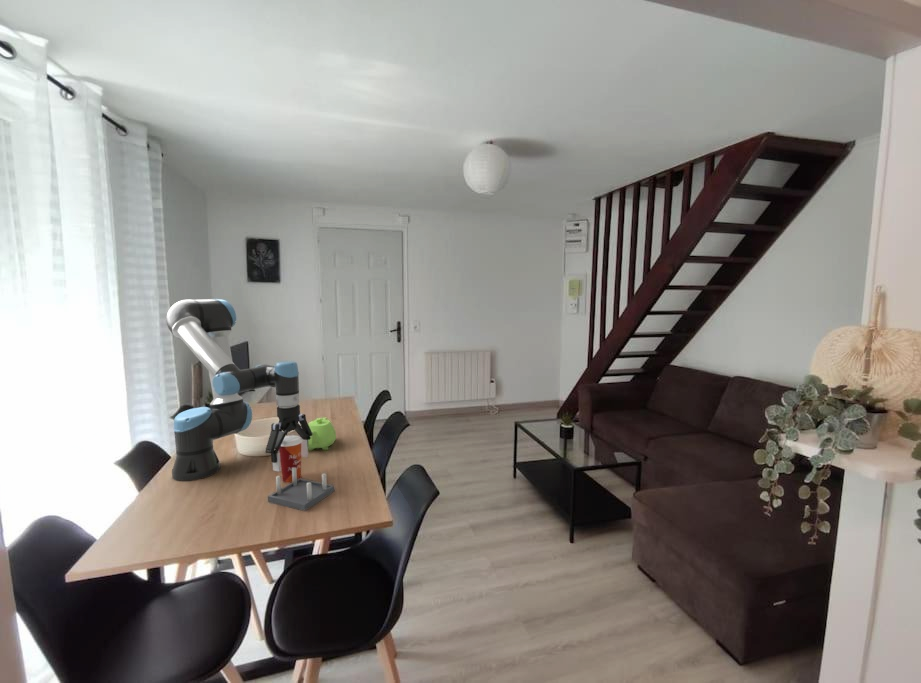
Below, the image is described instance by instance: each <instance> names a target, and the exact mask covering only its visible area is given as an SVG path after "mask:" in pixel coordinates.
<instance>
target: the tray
mask: <svg viewBox="0 0 921 683" xmlns="http://www.w3.org/2000/svg"><path fill="white" fill-rule="evenodd" d="M281 476H282V475H276V476H275V486H276V487H275V488H276V489H275V490H276V491H274V492H272V493H270V494H269V495H267V503H270V504H275V505H279V506H282V507H287V508H291V509H295V510H300V511H303V512H306V511H307V510H309V509H310V508H311V507H313V506H314V505H316V504H318V503H319V502H321V501H322V500H324V499H325V498H327V497H328V496H329V495H331V494H333V493H334V492H336V491H335V487H336V486H335V485H334V484H329V483H328V482H327V473H322V474H321V482H320V481H316V480H310V479H306V478H302V477H300V478H299V479H297V471H296V467H294V468H292V480H293V482H289V483H288V484H286V485H285V486H283V487H282V480H281Z"/></svg>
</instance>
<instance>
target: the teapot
mask: <svg viewBox="0 0 921 683" xmlns="http://www.w3.org/2000/svg"><path fill="white" fill-rule="evenodd" d="M308 425H309V427H310V430H311V432H312V436H310V437H311V438H310V440H308V452H309V451H314V450H315V449H322V451H327V450H329V447H330V446H331V445H333V444H334V442H335V441H336V439H337V433H336V429H335V427H334V425H333V423H332V422H331V420H329V419H328V417H327V416H326V417H317V418H315V420H311V421H310V422H308Z"/></svg>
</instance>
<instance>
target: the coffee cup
mask: <svg viewBox="0 0 921 683" xmlns="http://www.w3.org/2000/svg"><path fill="white" fill-rule="evenodd" d="M301 443H302V438H301V437H300V435H293V434H291V435H285V437H284V440H283V442H282V444H281V446H280V448H279V450H278V452H279V453H280V466H281V476H282V481H283V482H284V483H292V482H293V480H292V468H294V467H296V471H297V479H299V478H302V477H301V476H302V475H301V474H302V457H301Z"/></svg>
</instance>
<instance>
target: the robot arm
mask: <svg viewBox="0 0 921 683" xmlns="http://www.w3.org/2000/svg"><path fill="white" fill-rule="evenodd" d="M165 321H166V325H167V328H168V330H169V331H170V332H171V334H172V335H173V336H174V337H175V338H177V339H181V341H182V342H183V343H184V344H185V345H186V346H187V347H188V349H189V350H190V351H191V352H192V353H193V354H194V356H195V357H196V358H197V359H198V360H199V361H200V362H201V364H202V365H203V366H204V367H205V368H206V370H207V371H208V375H209V381H210V387H211V394H212V400H211V402H210V403H209V407H207V406H200V407H193V408H190V409H187V410H184V411H182V412H179V413H178V414H177V415H176V416H175V417H174V419H173V431H174V442H175V452H176V453H175V454H176V456H175V459H174V463H173V466H172V470H171V477H172V479H173V480H174V481H180V482H181V481H182V482H184V481H186V482H187V481H188V482H189V481H195V480H200V479H204V478H207V477H210V476H212V475H214V474H216V473H217V472H218V471H219V470H220V469H221V463H220V462H221V461H220V460H219V457H218V456H217V453H216V452H215V448H214V441H215V440H218V439H222V438H225V437H227V436H230V435H235V434H236V435H237V434H238V433H241V432H243V431H245V430H247V429H248V428H249V427H250V425H251V423H252V421H253V410H252V407H251V406H250V404H249V402H247V401H244V398H243V397H242V396H241V395H239V393H243V392H248V391H254V390H259V389H262V388H267V387H269V388H275V395H276V399H275V400H276V406H277V407H276V416H277V418H278V420H279V421H278V422H277V423H274V422H273V423H271V430H270V433H269V437H268V441H267V443H266V444H267V445H266V448H265V450H264V451H265V453H266V454H269V455H270V461H271V463H272V471H275V472H279V473H280V472H282V470H281V462H280V453H279V448H280V446H281V444H282V442H283V440H284V437H285V436H288V433H291V432H292V431H294V432H296V433H297V434H298V436H300V437H301V439H302V443H301V458H306V459H307V458H308V457H309V450H308V449H309V448H308V440H310V438H311V437H310V436H312V432H311V430H310V427H309V425H308V424H309V422H307V418H306V417H307V416H306V414H304V413H301V406H300V382H299V374H300V373H299V366H298V362H296V361H294V360H293V361H292V360H285V361H277V362H275V364H274V365H270V364H257V365H255V366H254V367H251V368H244V369H240V368H239V367H238V366H237V365H236V364H235V363H234V362H233V356H232V352H231V351H232V349H231V344H230V339H229V335H230V334H231V333H232V332H233V330H232V328H233V327H234V326H235V325H236V323H237V322H236V321H237V314H236V311H235V308H234V307H233V305H232V303H230V302H229V301H228V300H225V299H219V298H209V299H208V298H205V299H189V298H188V299H181V300H179V301H177V302H175V303H173V305H172V306H170V307H169V310H167V314H166V320H165Z"/></svg>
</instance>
